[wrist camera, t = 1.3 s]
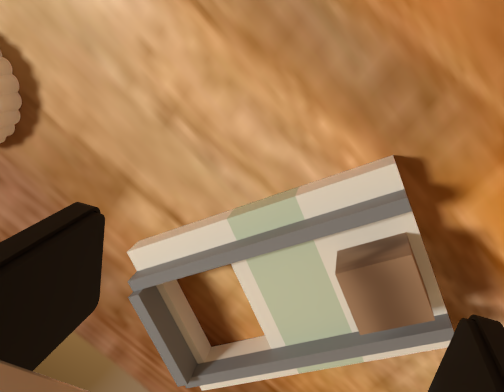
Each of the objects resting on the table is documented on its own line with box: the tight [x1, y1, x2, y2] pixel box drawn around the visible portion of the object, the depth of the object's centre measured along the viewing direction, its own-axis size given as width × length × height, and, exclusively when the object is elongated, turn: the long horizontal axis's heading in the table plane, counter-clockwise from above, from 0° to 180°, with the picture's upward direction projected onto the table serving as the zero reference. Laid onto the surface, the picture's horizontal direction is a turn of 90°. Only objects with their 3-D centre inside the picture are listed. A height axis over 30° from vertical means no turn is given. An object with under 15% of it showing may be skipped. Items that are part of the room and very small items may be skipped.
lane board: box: [127, 155, 454, 391], centre depth 40 cm, size 27×18×6 cm, turn 114°
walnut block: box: [335, 232, 435, 335], centre depth 35 cm, size 6×6×4 cm
